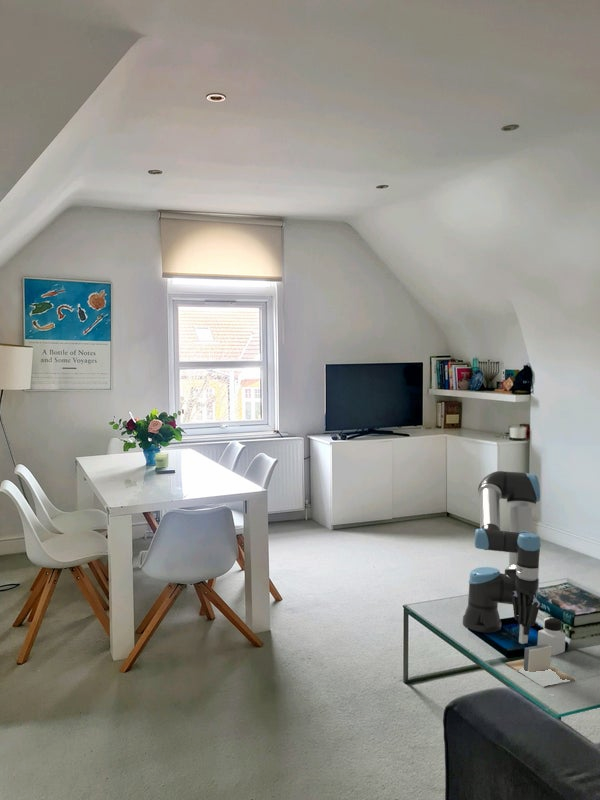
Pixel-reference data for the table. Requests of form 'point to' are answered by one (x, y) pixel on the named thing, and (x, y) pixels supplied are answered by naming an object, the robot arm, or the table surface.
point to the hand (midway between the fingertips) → (523, 642)
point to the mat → (520, 664)
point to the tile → (537, 658)
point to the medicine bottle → (552, 635)
